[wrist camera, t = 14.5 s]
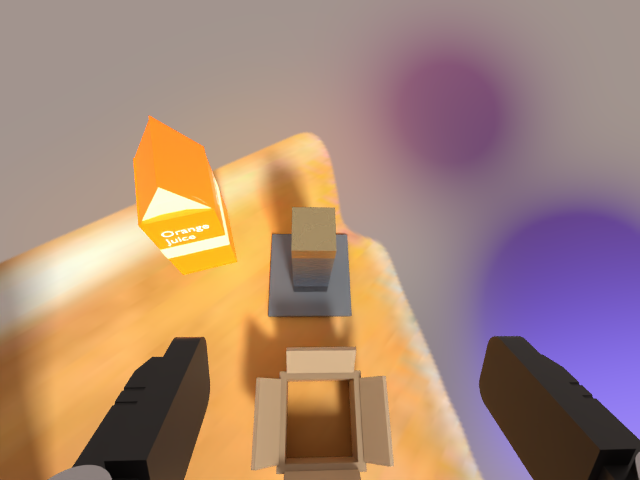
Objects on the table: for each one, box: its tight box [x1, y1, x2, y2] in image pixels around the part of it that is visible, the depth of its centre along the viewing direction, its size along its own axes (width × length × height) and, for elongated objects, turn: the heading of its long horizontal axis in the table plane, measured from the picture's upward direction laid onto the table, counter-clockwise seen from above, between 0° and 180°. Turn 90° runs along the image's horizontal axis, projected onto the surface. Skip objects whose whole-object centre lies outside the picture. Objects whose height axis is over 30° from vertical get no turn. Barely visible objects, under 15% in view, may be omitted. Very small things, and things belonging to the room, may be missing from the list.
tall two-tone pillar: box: [291, 207, 337, 292], centre depth 42 cm, size 4×5×14 cm
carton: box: [251, 347, 394, 480], centre depth 37 cm, size 14×14×8 cm
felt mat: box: [268, 234, 352, 317], centre depth 48 cm, size 11×12×1 cm
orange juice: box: [133, 116, 237, 275], centre depth 41 cm, size 8×9×20 cm
